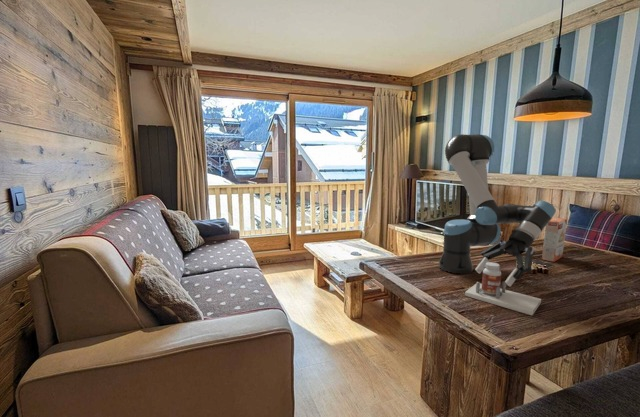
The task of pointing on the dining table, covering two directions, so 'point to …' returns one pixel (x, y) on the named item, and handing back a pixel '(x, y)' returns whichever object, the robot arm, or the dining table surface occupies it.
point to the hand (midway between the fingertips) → (491, 277)
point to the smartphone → (539, 263)
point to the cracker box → (554, 239)
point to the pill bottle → (491, 278)
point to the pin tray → (505, 298)
